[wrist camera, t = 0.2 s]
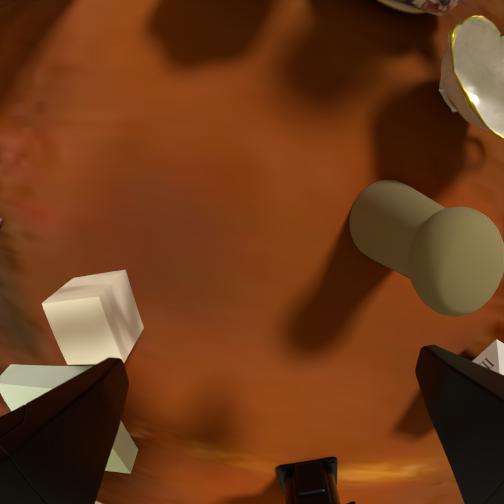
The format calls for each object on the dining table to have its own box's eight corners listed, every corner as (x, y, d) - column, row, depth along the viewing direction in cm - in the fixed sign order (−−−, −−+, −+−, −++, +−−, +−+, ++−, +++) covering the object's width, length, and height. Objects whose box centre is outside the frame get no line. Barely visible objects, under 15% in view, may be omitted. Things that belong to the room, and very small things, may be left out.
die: (461, 321, 25) (523, 383, 15) (512, 331, 25) (566, 381, 16) (420, 393, 27) (461, 464, 17) (475, 395, 28) (516, 451, 18)
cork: (343, 258, 23) (407, 338, 12) (354, 173, 21) (440, 194, 10) (414, 263, 23) (500, 332, 12) (428, 185, 21) (532, 215, 11)
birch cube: (144, 327, 25) (123, 363, 20) (92, 331, 25) (67, 364, 20) (125, 269, 23) (98, 296, 18) (73, 277, 23) (41, 303, 19)
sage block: (139, 447, 30) (130, 473, 26) (58, 438, 30) (46, 459, 26) (94, 363, 26) (77, 389, 22) (12, 362, 27) (-6, 382, 23)
